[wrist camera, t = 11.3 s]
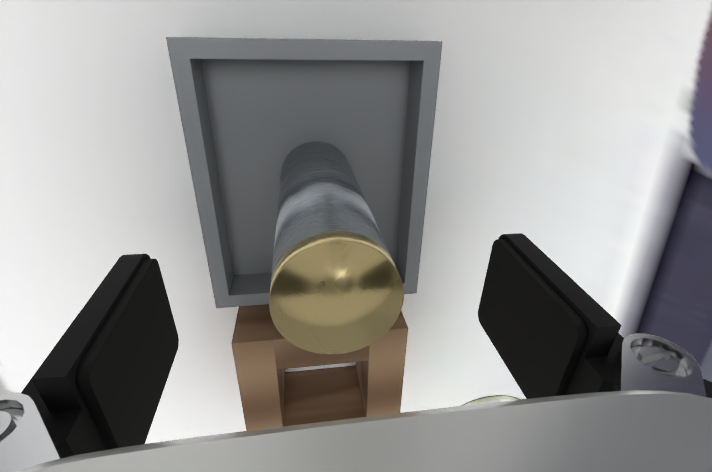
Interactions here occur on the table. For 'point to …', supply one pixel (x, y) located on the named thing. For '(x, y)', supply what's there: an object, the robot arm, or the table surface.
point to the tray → (302, 140)
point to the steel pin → (329, 257)
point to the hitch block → (313, 375)
